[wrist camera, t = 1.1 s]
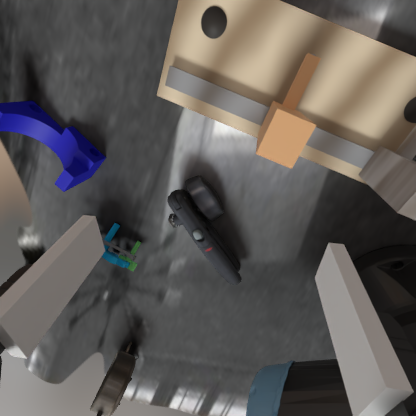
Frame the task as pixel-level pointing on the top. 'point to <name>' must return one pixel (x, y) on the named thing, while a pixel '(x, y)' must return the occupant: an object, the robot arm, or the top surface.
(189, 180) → the can opener
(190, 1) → the plate
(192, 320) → the top surface
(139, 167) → the top surface
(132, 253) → the gear
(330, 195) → the top surface
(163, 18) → the top surface
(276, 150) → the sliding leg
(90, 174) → the cable clip
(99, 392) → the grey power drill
